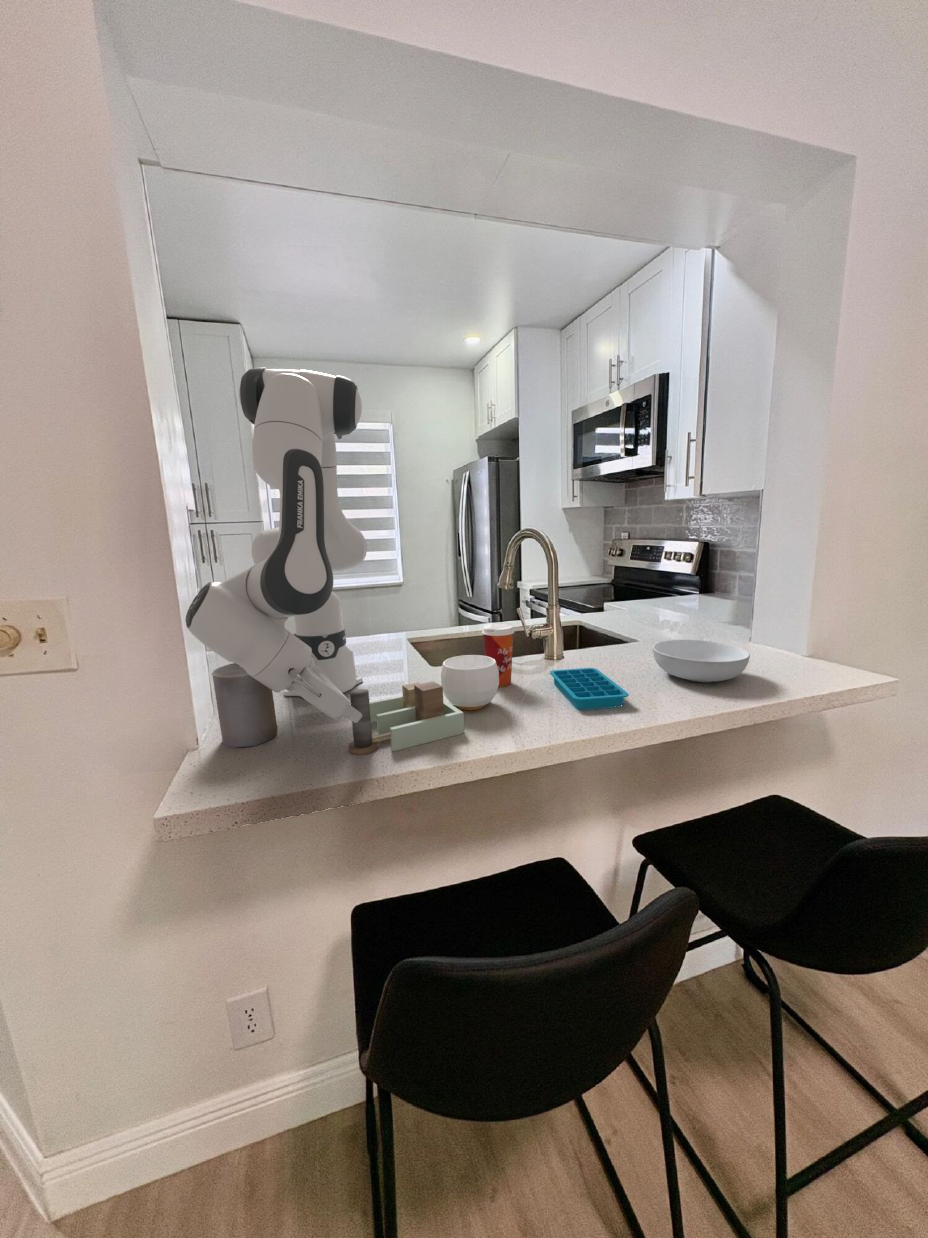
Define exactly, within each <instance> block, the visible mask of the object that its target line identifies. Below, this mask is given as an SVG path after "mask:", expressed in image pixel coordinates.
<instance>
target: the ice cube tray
mask: <svg viewBox="0 0 928 1238" xmlns="http://www.w3.org/2000/svg"><path fill="white" fill-rule="evenodd" d="M549 674H550V676H551V677H552V678H553V684H554V686H555V687H556V688H557V689H558V690H559V691H560V692H561V694H563V696H564V697H565V698H566V699H567V700H568V701H569V703H570V704H571V705H572V706H573V707H574V708H575V709H576V710H580V711H581V710H596V708H599V709H610V707H612V708H618V707H617V706H621V705H623V706H624V701H625V700H624V699H625V698H628V697H629V696H630V695H629V692H628V691H626V690H624V689H623V688H622V687H621V686H619V684H617V683H616V682H614V681H613V680H612V679H610V678H609V677H608V676H607V675H605V674H604V673H603V672H601V671H600V670H599V669H598V668H595V667H584V668H569V669H568V668H567V669H556V670H555V669H553V670H550V671H549ZM615 706H616V707H615Z"/></svg>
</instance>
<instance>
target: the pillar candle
mask: <svg viewBox="0 0 928 1238" xmlns="http://www.w3.org/2000/svg"><path fill="white" fill-rule="evenodd" d="M211 676H212V680H213V687H214V692H215V693H214V694H215V699H216V706H217V714H218V715H217V716H218V720H219V727H220V734H221V740H222V744H223V746H225V747H228V748H233V749H237V748H243V747H244V748H248V747H255V746H257V745H261V744H264V743H267V742H268V741H270V740H272V739H273V738H274V737H276V735H277V734H278V723H277V716H276V709H275V700H274V693H273V690H271V689H270V688H268V687H267V686H265V685H263V684H262V683H260V682H259V681H257V680H256V679H254V678H253V677H251V676H250V675H249V674H248V673H247V672H246V671H245V670H244V669H243V668H242V667H241V666H239V665H238V664H236V663H233V662H231V663H229V664H225V665H223V666H220V667H218V668H215V669H214V670H213V671H212V673H211Z"/></svg>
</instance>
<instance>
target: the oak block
mask: <svg viewBox="0 0 928 1238" xmlns="http://www.w3.org/2000/svg"><path fill="white" fill-rule="evenodd" d="M417 684H421V683H420V682H419V681H417V682H411V683H406V684H402V685H401V688H402V689H401V690H402V691H401V692H402V695H403V707H404V708H408V707H413V706H415V693H414V685H417Z"/></svg>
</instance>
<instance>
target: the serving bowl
mask: <svg viewBox="0 0 928 1238" xmlns="http://www.w3.org/2000/svg"><path fill="white" fill-rule="evenodd" d="M652 654H653V657H654V660H655V662H656V664H657V665H658V666H659V667H660V668H661V669H662V670H663V671H664V672H666V673H668V674H670V675H672V676H674V677H676V678H680V679H683V680H685V679H687V680H686V681H689V680H691V681H690V682H695V681H698V682H697V683H712V681H713V682H722V681H727V680H731V679H734V678H736V677H737V676H740V674H742V673H743V672H744V671H745V670H746V667H747V666H748V664H749V661H750V657H751V654H750V653H749V652H748V651H747V650H746V649H744V648H743V647H740V646H736V645H732V644H729V643H724V642H720V641H711V640H703V639H670V640H663V641H660V642H656V643H654V644H653V645H652Z"/></svg>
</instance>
